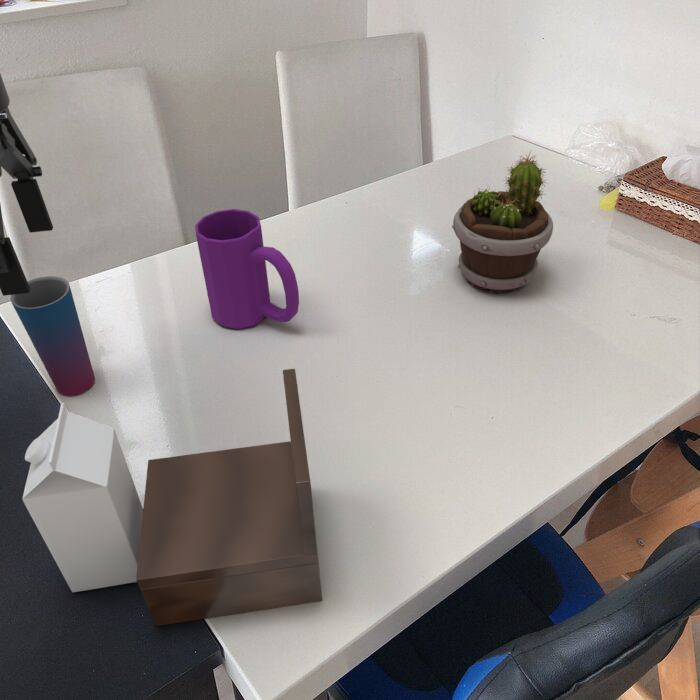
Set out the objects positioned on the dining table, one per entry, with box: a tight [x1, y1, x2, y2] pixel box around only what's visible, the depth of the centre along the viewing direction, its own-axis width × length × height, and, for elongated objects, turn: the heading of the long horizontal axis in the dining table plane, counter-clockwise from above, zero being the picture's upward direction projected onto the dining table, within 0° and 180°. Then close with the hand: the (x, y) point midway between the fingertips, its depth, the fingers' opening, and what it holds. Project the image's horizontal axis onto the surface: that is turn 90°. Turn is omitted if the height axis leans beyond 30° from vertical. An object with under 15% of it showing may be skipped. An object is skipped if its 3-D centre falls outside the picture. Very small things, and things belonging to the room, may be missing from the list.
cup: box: [9, 275, 96, 397], centre depth 87 cm, size 7×7×15 cm
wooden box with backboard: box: [136, 368, 323, 627], centre depth 65 cm, size 16×14×18 cm
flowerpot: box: [451, 150, 554, 294], centre depth 102 cm, size 14×15×20 cm
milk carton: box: [22, 402, 144, 593], centre depth 64 cm, size 7×7×19 cm
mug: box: [194, 208, 300, 330], centre depth 97 cm, size 9×16×15 cm, turn 58°
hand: (30, 259), depth 79 cm, fingers open, 13 cm apart
